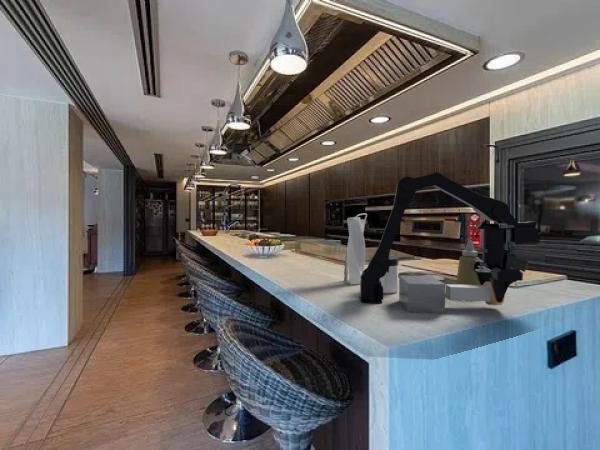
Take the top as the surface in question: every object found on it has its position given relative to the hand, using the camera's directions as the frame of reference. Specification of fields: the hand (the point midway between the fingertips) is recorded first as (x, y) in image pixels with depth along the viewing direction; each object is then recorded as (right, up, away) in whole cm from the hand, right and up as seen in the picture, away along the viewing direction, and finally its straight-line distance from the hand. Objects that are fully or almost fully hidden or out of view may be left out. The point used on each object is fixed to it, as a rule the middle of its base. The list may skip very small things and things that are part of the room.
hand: (493, 298), depth 92 cm
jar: (-25, -2, +22) cm, 33 cm away
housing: (-20, -3, +2) cm, 20 cm away
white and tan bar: (-5, -2, +1) cm, 6 cm away
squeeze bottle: (+4, -2, +21) cm, 21 cm away
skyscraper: (-34, -2, +35) cm, 49 cm away
